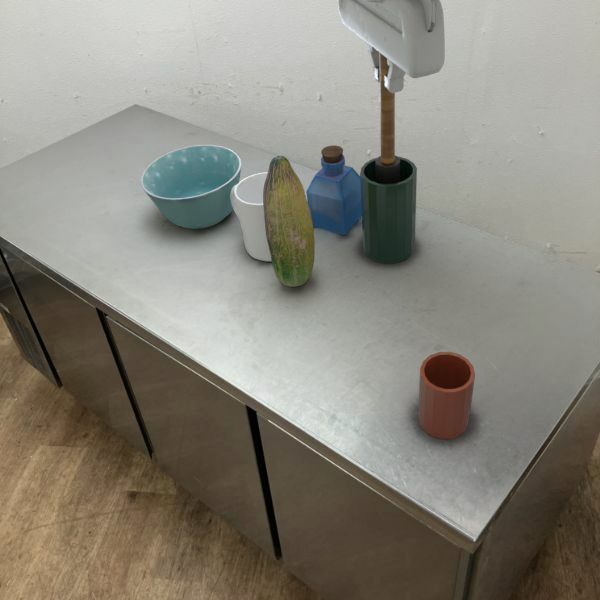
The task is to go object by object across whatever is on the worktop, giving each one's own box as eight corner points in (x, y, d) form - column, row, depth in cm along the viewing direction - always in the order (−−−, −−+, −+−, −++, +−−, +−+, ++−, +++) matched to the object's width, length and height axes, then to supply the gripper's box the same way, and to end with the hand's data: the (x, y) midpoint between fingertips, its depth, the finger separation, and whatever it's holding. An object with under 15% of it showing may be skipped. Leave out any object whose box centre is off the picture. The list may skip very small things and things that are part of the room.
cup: (424, 254, 92) (427, 176, 84) (376, 269, 91) (374, 191, 82) (400, 226, 98) (401, 150, 89) (355, 241, 96) (351, 164, 87)
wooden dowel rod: (403, 207, 88) (406, 47, 74) (382, 214, 88) (380, 54, 73) (393, 196, 91) (393, 38, 76) (372, 202, 90) (368, 44, 75)
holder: (478, 428, 70) (485, 381, 65) (433, 446, 69) (436, 399, 64) (452, 393, 74) (457, 345, 68) (409, 409, 73) (411, 361, 67)
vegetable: (326, 277, 91) (315, 151, 77) (307, 306, 87) (291, 178, 73) (288, 268, 93) (270, 144, 80) (267, 295, 89) (245, 170, 76)
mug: (218, 239, 100) (205, 182, 93) (257, 214, 104) (247, 158, 97) (271, 270, 93) (261, 211, 86) (311, 242, 97) (305, 184, 90)
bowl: (138, 239, 102) (123, 195, 96) (175, 184, 113) (163, 142, 107) (231, 246, 98) (222, 201, 93) (260, 188, 109) (253, 145, 104)
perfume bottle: (364, 213, 101) (361, 144, 93) (344, 235, 97) (340, 166, 89) (330, 204, 104) (324, 136, 96) (309, 225, 100) (302, 157, 92)
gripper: (465, -22, 61) (455, 113, 71) (373, -66, 76) (376, 50, 85) (405, -8, 60) (403, 128, 70) (324, -56, 75) (331, 61, 84)
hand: (387, 85), depth 78 cm, fingers closed on wooden dowel rod, 2 cm apart
